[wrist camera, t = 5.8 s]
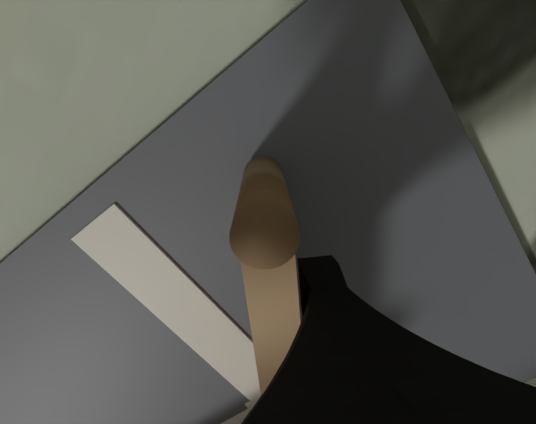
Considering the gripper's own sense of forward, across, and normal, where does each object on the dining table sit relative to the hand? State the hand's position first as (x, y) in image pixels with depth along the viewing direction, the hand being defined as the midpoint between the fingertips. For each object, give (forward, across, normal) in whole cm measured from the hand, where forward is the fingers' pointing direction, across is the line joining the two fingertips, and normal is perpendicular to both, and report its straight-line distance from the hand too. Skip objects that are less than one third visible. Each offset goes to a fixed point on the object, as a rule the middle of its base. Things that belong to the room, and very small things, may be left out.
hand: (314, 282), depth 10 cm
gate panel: (+2, +1, +2) cm, 3 cm away
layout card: (+3, +3, +6) cm, 7 cm away
